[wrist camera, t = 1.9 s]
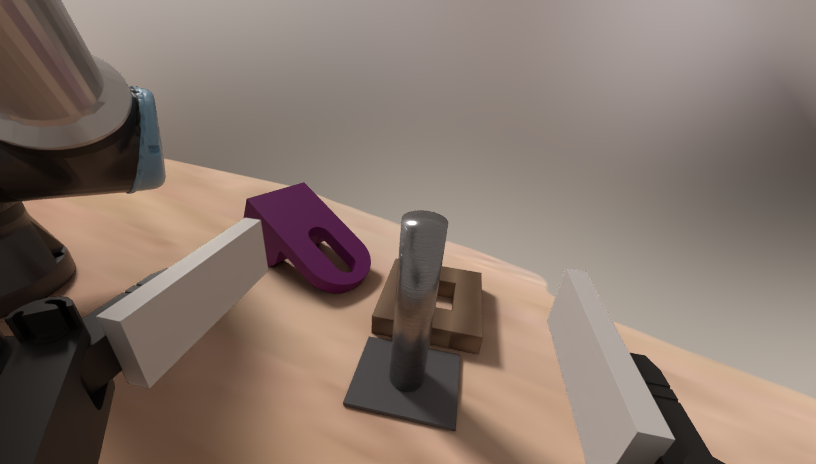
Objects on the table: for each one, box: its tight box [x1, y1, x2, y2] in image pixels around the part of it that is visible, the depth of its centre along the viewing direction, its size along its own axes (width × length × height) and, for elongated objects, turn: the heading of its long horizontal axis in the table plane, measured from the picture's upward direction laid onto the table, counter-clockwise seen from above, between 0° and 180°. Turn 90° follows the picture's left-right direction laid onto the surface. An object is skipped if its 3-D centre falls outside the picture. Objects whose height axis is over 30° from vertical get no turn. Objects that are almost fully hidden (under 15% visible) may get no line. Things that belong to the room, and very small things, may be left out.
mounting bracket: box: [243, 183, 371, 293], centre depth 48 cm, size 10×8×18 cm
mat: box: [343, 337, 460, 431], centre depth 32 cm, size 10×8×1 cm
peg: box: [389, 211, 448, 392], centre depth 28 cm, size 3×3×17 cm
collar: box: [372, 259, 483, 354], centre depth 41 cm, size 12×12×2 cm
